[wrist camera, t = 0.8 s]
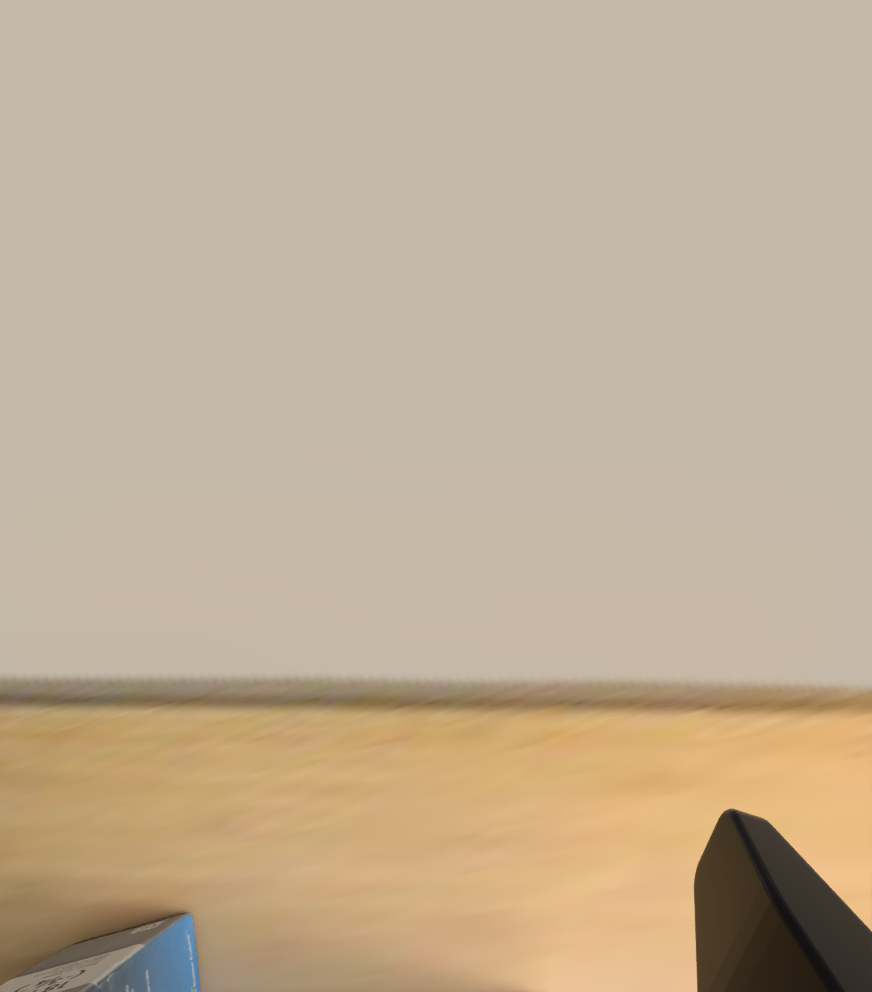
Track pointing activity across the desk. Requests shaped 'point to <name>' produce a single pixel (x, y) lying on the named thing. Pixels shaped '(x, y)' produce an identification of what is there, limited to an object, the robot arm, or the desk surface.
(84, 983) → the label tape cartridge
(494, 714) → the desk surface
